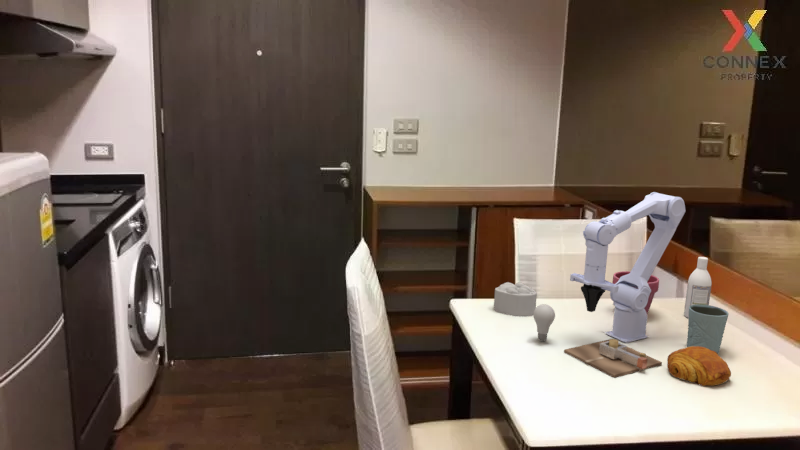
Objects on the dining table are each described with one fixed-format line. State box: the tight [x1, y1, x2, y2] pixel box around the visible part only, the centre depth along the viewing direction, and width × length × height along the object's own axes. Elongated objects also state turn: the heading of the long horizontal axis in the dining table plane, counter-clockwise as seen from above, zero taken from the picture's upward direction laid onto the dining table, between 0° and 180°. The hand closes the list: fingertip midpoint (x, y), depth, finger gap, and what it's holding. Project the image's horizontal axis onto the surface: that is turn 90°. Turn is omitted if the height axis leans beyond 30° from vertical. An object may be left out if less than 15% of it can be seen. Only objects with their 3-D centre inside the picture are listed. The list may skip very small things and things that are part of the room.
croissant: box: [666, 346, 732, 387], centre depth 172 cm, size 14×16×8 cm
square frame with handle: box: [599, 341, 647, 369], centre depth 178 cm, size 13×5×3 cm, turn 34°
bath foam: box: [683, 256, 713, 319], centre depth 215 cm, size 7×7×20 cm
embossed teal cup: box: [686, 304, 730, 355], centre depth 189 cm, size 10×10×12 cm
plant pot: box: [611, 270, 660, 315], centre depth 217 cm, size 14×14×13 cm
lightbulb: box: [532, 303, 556, 342], centre depth 191 cm, size 6×6×11 cm
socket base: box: [563, 338, 663, 379], centre depth 181 cm, size 18×18×5 cm
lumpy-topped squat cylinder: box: [493, 281, 538, 317], centre depth 217 cm, size 10×13×9 cm
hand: (591, 310), depth 190 cm, fingers closed
